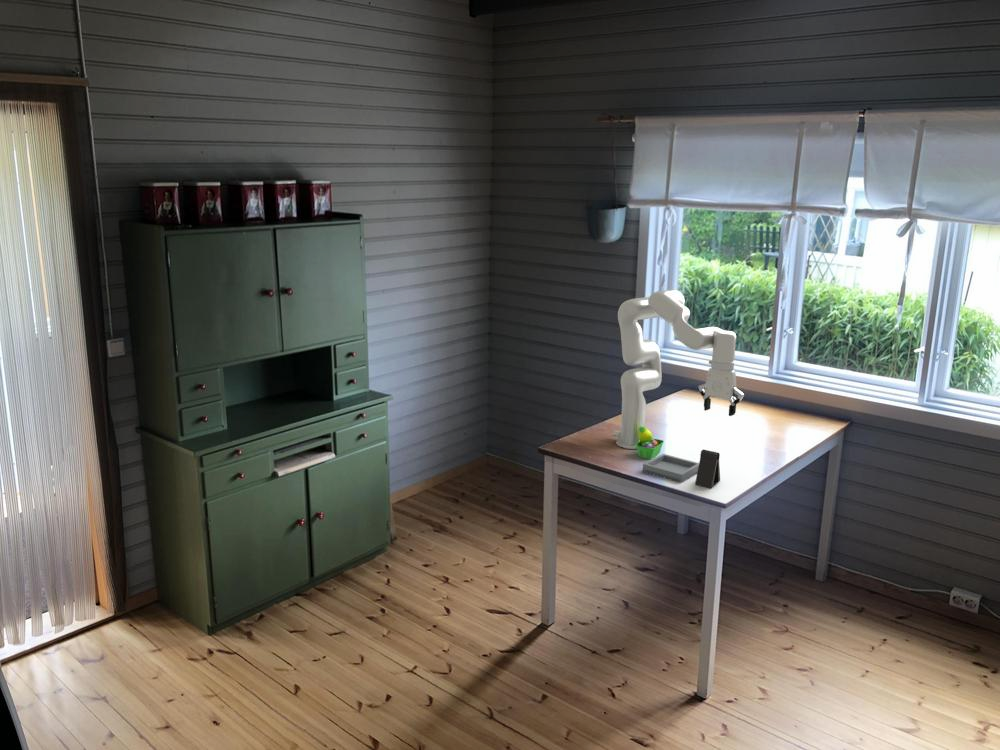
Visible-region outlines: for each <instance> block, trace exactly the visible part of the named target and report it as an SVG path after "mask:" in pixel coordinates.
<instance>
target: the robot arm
mask: <svg viewBox="0 0 1000 750" xmlns="http://www.w3.org/2000/svg"><path fill="white" fill-rule="evenodd" d="M690 314H691V312H690V309H689V308H688V307H687V306H685V297H684V295H683V293H682V292H681V291H680V290H677V289H666V290H664V289H663V290H658V291H657V290H656V291H655V292H652V293H651V294H650V296H646V297H645V296H644V297H636V298H631V299H628V300H625V301H624V302H623V303H621V305H620V306H619V308H618V311H617V320H618V324H619V325H618V326H619V329H620V337H621V338H620V340H621V352H622V353H621V354H622V359H623V362H624V363H625V364H626V365H628V366H631V367H633V366H640V365H642V367H637V368H636V367H635V368H631V369H628V370H626V371H624V372H623V373H622V375H621V377H620V387H621V388H620V389H621V398H622V399H621V420H620V430H617V429H614V430H613V432H612V436H613V437H617V439H616V442H615V443H616V445H617V446H618V447H620V448H622V447H623V449H627V450H637V447H636V444H638V443H639V442H640V440H639V438H638V434H639V433H638V430H639V428H640V427H641V426H644V427H645V425H646V409H647V408H646V407H647V402H646V398H645V397H644V394H643V393H644V392H646V391H651V390H655V389H657V388H659V387H660V385H661V383H662V381H663V380H662V377H663V376H662V375H663V374H662V362H661V352H660V350H661V349H660V348H659V345H658V344H657V343H656V342H655V341H654V340H651V339H644V337H643V334H644V333H643V329H642V327H641V324H640V323H639V321H640V320H648V319H649V320H651V319H655V318H656V319H657V318H661V319H663V320H664V321H665V322H666V323H668V324H669V325H670V326H672V331H673V334H674V336H675V338H676V339H677V340H678V341H679V342H680V343H681V344H683V345H684V346H685V347H687V348H688V349H691V350H693V351H702V350H706V349H707V350H708V349H712V356H711V357H712V358H711V360H709V361H708V365H710V367H709V368H708V372H707V375H706V380H705V383H703V384H701V385H698V390H699V392H700V395H701V397H702V399H703V411H709V410H710V409H711V404H712V402H711V401H712V399H711V398H716V399H721V400H727V401H728V402H729V403H730V405H729V406H728V407H729V408H728V416H729V417H732V416H734V415H735V414H736V413H737V404H739V403H740V402H741V401H742V399H743V398H744V397H745V394H744V393H743V391H741V390H739V389H738V388H737V376H736V371H735V370H734V368H735V355H736V342H737V335H736V333H735V332H734V331H732V330H724V329H721V328H720V327H717V326H707V327H700V328H694V327H693V326H692V325H691V324H689V323H688V320H689V318H690ZM736 396H737V398H736ZM645 428H646V427H645Z"/></svg>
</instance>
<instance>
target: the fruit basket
mask: <svg viewBox="0 0 1000 750" xmlns="http://www.w3.org/2000/svg"><path fill="white" fill-rule="evenodd" d="M638 433H639V434H638V438H639V440H640V442H639V443H638V444H636V447H637V449H636V450H637V454H638V457H639V456H640V457H639V458H642V457H644V458H643V459H647V458H649V459H648V460H652V459H654V458H656V457H657V455H659V454H660V453H661V449H662V446H663V444H664V443H665V441H664V440H663V439H658V438H653V433H652V432H651V431H650V430H649V429H648V428H647V427H644V426H641V427H640V428H639V430H638Z"/></svg>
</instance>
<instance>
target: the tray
mask: <svg viewBox="0 0 1000 750" xmlns="http://www.w3.org/2000/svg"><path fill="white" fill-rule="evenodd" d="M698 467H699V462H697V461H692V460H689V459H685V458H681V457H677V456H673V455H669V454H666V453H662V454H660V455H658V456H655V457H653V458H652V459H649V461H646V462H644V463H643V464H642V472H643V471H644V472H643V473H646V472H647V473H646V474H649V473H651V474H650V475H653V474H655V475H654V476H656V475H658V476H657V477H660V476H661V478H663V477H665V478H664V479H667V480H670V479H671V480H670V481H674V482H678V483H683V482H685V481H687V480H688V479H690V478H692V477H693V476H695V475H697V472H698Z"/></svg>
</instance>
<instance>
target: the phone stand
mask: <svg viewBox="0 0 1000 750" xmlns="http://www.w3.org/2000/svg"><path fill="white" fill-rule="evenodd" d="M699 456H700V457H699V462H698V463H699V467H698V472H697V474H696V477H695V484H694V485H695V486H699V487H704V488H708V489H713V488H714V487H715V486H716V485H718V484H719V483H720V482H721V472H720V452H718V451H717V452H716V451H711V450H707V449H701V451H700V455H699ZM719 481H720V482H719ZM718 482H719V483H718Z"/></svg>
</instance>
